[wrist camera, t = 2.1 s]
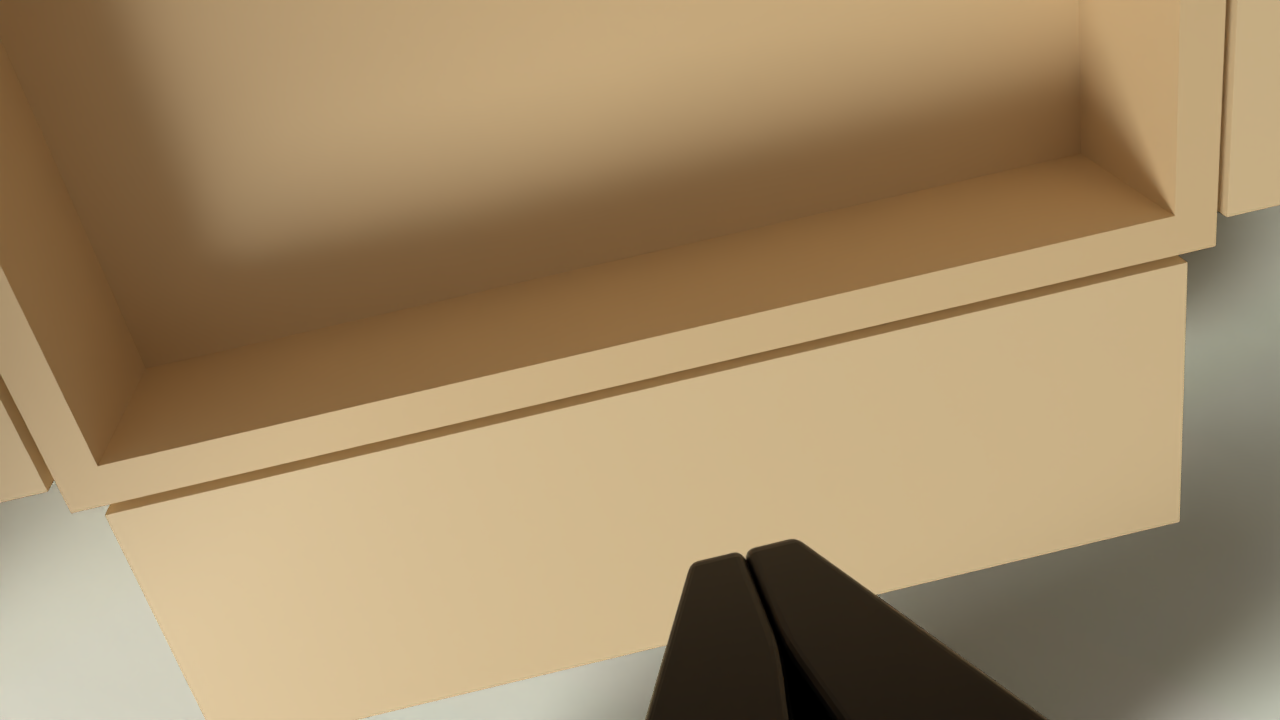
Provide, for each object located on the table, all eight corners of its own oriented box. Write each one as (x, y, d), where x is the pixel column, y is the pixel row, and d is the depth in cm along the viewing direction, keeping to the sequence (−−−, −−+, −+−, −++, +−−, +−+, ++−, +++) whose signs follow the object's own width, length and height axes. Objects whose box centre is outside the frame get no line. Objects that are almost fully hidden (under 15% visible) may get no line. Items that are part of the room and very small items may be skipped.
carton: (1393, -860, 14) (1644, -1022, 11) (1294, 363, 22) (1427, 462, 19) (-610, -451, 13) (-914, -505, 10) (28, 663, 21) (-43, 815, 18)
